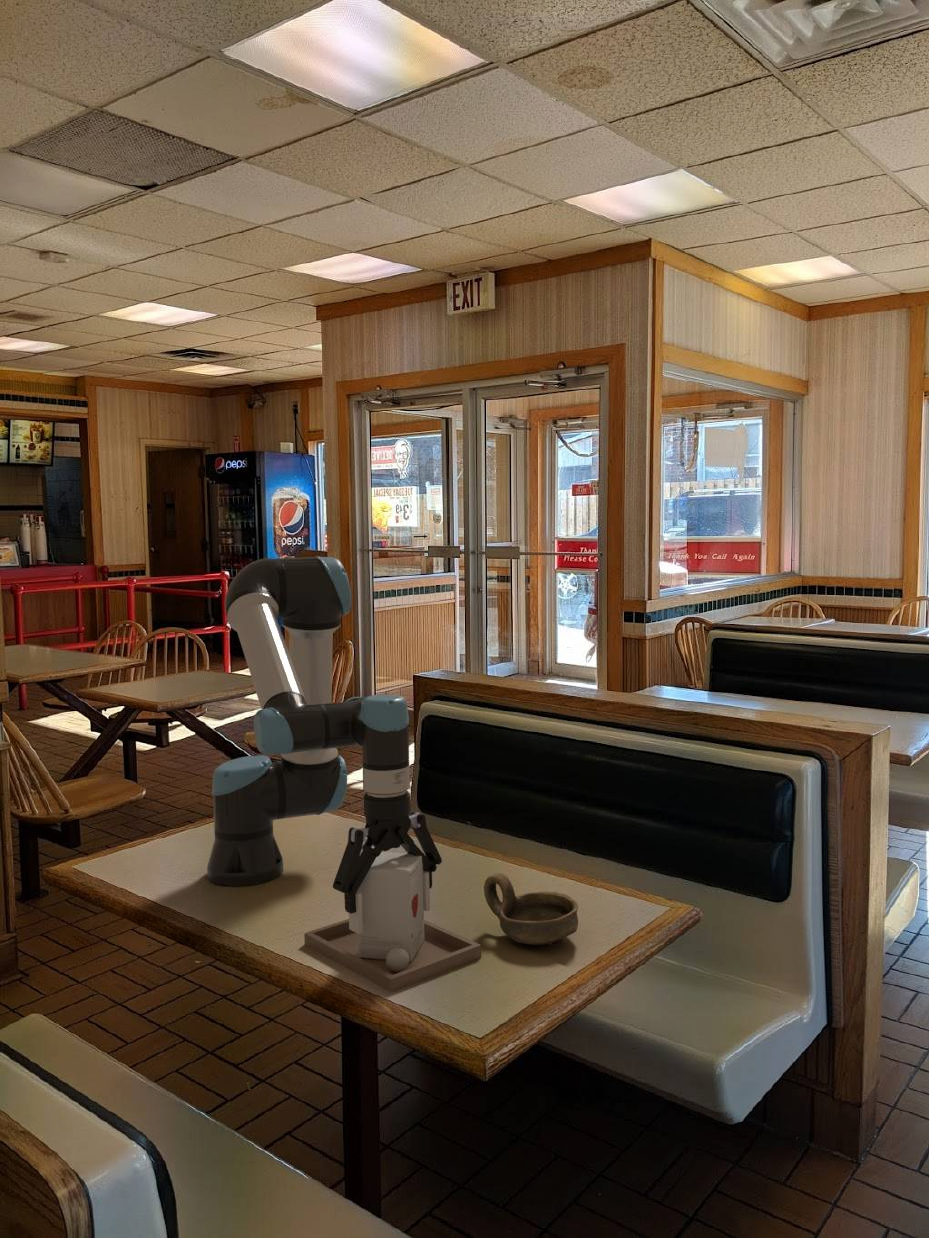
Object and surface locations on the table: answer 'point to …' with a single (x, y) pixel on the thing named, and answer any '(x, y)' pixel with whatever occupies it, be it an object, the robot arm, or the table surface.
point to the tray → (343, 948)
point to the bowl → (531, 912)
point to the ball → (397, 959)
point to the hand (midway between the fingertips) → (390, 919)
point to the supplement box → (392, 906)
